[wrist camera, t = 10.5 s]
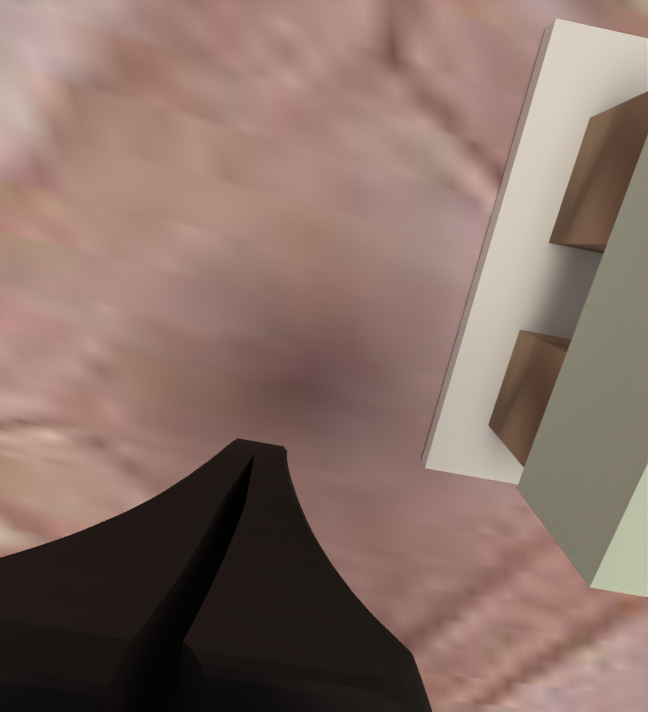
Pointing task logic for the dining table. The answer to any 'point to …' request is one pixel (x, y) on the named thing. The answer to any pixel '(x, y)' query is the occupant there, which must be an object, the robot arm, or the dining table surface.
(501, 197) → the off-white flat rectangular panel
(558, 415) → the sage lintel
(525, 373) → the walnut pillars
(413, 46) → the dining table surface
